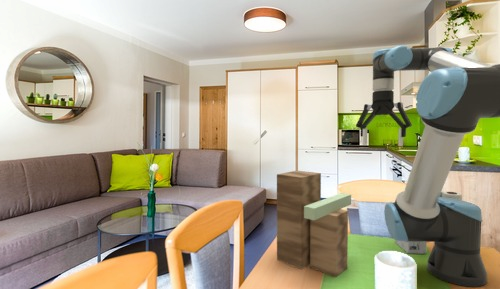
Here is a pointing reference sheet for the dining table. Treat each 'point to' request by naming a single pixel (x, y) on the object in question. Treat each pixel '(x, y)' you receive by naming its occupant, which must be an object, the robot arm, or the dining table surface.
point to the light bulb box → (412, 247)
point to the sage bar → (326, 206)
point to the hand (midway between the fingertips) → (382, 145)
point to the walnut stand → (309, 226)
